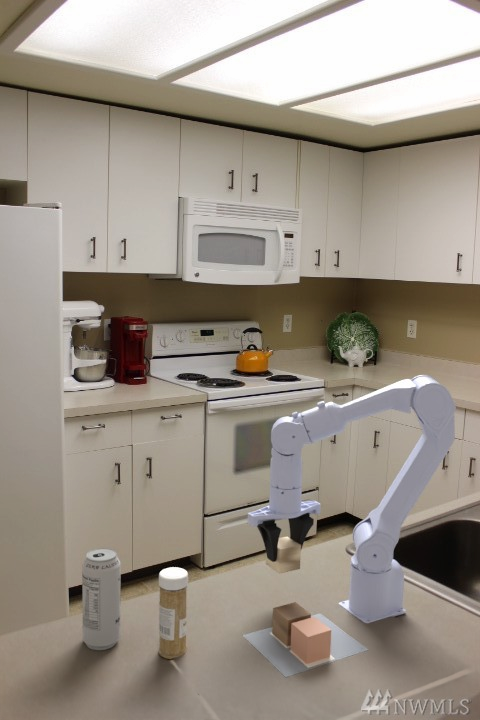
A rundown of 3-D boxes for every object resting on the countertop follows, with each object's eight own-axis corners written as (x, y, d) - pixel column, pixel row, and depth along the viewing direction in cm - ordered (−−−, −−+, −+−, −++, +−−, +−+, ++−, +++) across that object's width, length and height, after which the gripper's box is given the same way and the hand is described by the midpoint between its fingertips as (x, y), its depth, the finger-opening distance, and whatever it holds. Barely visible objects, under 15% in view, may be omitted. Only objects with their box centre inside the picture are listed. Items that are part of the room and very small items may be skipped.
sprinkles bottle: (191, 655, 106) (193, 574, 104) (166, 663, 103) (167, 581, 102) (178, 641, 110) (179, 563, 108) (152, 649, 107) (153, 569, 105)
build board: (320, 615, 119) (320, 613, 119) (368, 652, 108) (368, 649, 108) (242, 638, 111) (242, 635, 111) (285, 680, 100) (285, 677, 100)
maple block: (286, 559, 125) (287, 536, 124) (300, 568, 121) (301, 545, 121) (265, 563, 123) (266, 540, 122) (279, 573, 119) (280, 549, 118)
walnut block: (294, 626, 114) (295, 602, 114) (309, 639, 110) (310, 614, 110) (272, 633, 112) (273, 608, 111) (287, 646, 108) (288, 620, 108)
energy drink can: (125, 645, 108) (126, 557, 106) (89, 656, 105) (89, 565, 103) (112, 628, 113) (112, 543, 111) (77, 637, 110) (77, 550, 108)
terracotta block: (313, 642, 110) (314, 616, 109) (330, 656, 106) (331, 629, 105) (290, 649, 107) (291, 623, 107) (306, 664, 103) (308, 636, 103)
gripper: (306, 473, 127) (303, 541, 129) (239, 483, 120) (237, 556, 121) (328, 483, 121) (325, 555, 123) (260, 495, 114) (258, 571, 115)
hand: (283, 556), depth 122 cm, fingers closed on maple block, 4 cm apart
